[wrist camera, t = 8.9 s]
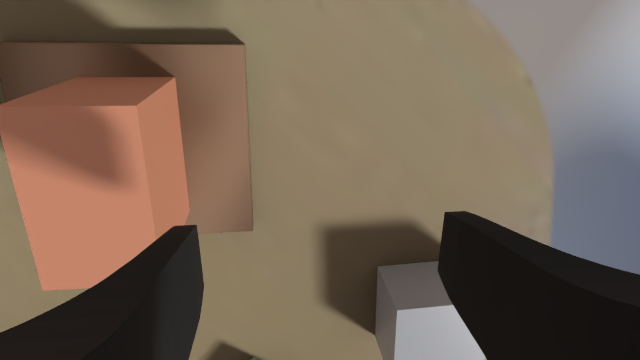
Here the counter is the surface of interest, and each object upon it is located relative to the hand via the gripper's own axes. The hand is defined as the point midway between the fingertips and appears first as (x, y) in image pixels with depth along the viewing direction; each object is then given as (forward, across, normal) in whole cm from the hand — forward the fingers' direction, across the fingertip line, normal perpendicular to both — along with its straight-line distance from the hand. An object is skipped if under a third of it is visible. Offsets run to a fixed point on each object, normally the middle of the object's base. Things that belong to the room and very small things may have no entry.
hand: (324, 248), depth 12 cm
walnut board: (+10, +8, 0) cm, 12 cm away
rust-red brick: (+9, +7, 0) cm, 11 cm away
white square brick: (+10, -7, +10) cm, 15 cm away
